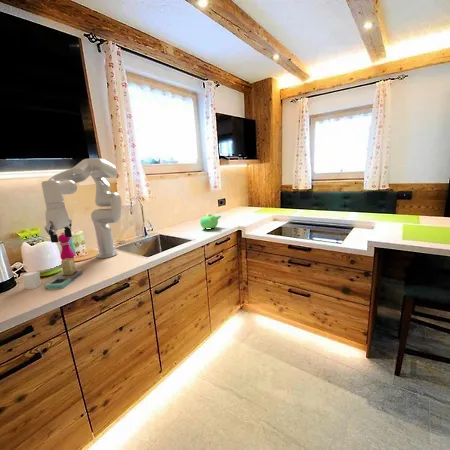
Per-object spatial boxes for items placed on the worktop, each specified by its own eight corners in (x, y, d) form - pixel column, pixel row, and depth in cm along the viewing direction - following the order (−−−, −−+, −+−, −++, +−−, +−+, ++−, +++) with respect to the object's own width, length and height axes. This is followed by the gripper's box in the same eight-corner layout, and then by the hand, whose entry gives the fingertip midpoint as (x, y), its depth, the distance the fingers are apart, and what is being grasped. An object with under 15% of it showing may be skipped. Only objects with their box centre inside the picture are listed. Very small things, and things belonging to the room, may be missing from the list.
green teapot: (207, 226, 232) (206, 212, 229) (222, 227, 225) (221, 212, 222) (197, 230, 216) (196, 215, 213) (213, 232, 209) (212, 216, 206)
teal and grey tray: (67, 274, 128) (67, 271, 127) (82, 273, 128) (81, 270, 128) (45, 289, 111) (44, 285, 111) (62, 288, 112) (61, 284, 111)
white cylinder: (22, 288, 114) (18, 274, 112) (38, 282, 119) (35, 269, 118) (27, 291, 110) (24, 277, 109) (44, 285, 116) (41, 272, 114)
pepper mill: (77, 260, 150) (71, 230, 146) (72, 264, 143) (66, 232, 139) (65, 261, 149) (59, 231, 145) (59, 265, 142) (53, 233, 138)
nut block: (69, 275, 126) (65, 258, 124) (76, 275, 126) (73, 258, 124) (64, 279, 122) (60, 261, 120) (72, 278, 122) (68, 260, 120)
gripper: (60, 204, 123) (66, 235, 126) (33, 208, 106) (41, 244, 110) (74, 203, 123) (80, 234, 126) (49, 208, 106) (56, 244, 109)
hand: (62, 239), depth 118 cm, fingers open, 9 cm apart
